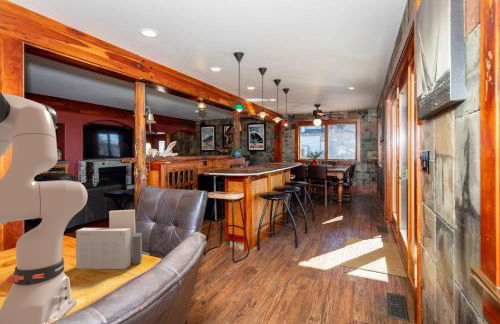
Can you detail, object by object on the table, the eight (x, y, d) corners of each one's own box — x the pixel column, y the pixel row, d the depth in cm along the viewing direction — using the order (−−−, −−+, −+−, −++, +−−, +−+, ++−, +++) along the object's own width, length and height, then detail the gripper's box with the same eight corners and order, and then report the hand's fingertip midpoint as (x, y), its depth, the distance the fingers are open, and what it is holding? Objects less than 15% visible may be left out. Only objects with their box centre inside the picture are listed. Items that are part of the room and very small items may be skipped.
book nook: (140, 263, 118) (139, 213, 117) (106, 267, 115) (105, 214, 114) (142, 257, 126) (142, 209, 125) (110, 260, 122) (109, 210, 121)
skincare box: (131, 264, 118) (131, 227, 117) (125, 269, 112) (124, 231, 112) (84, 263, 119) (83, 227, 118) (75, 268, 113) (74, 230, 113)
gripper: (-19, 209, 96) (27, 207, 100) (14, 200, 116) (51, 199, 120) (-19, 227, 97) (28, 224, 100) (14, 215, 116) (52, 213, 120)
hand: (41, 210), depth 110 cm, fingers open, 8 cm apart
